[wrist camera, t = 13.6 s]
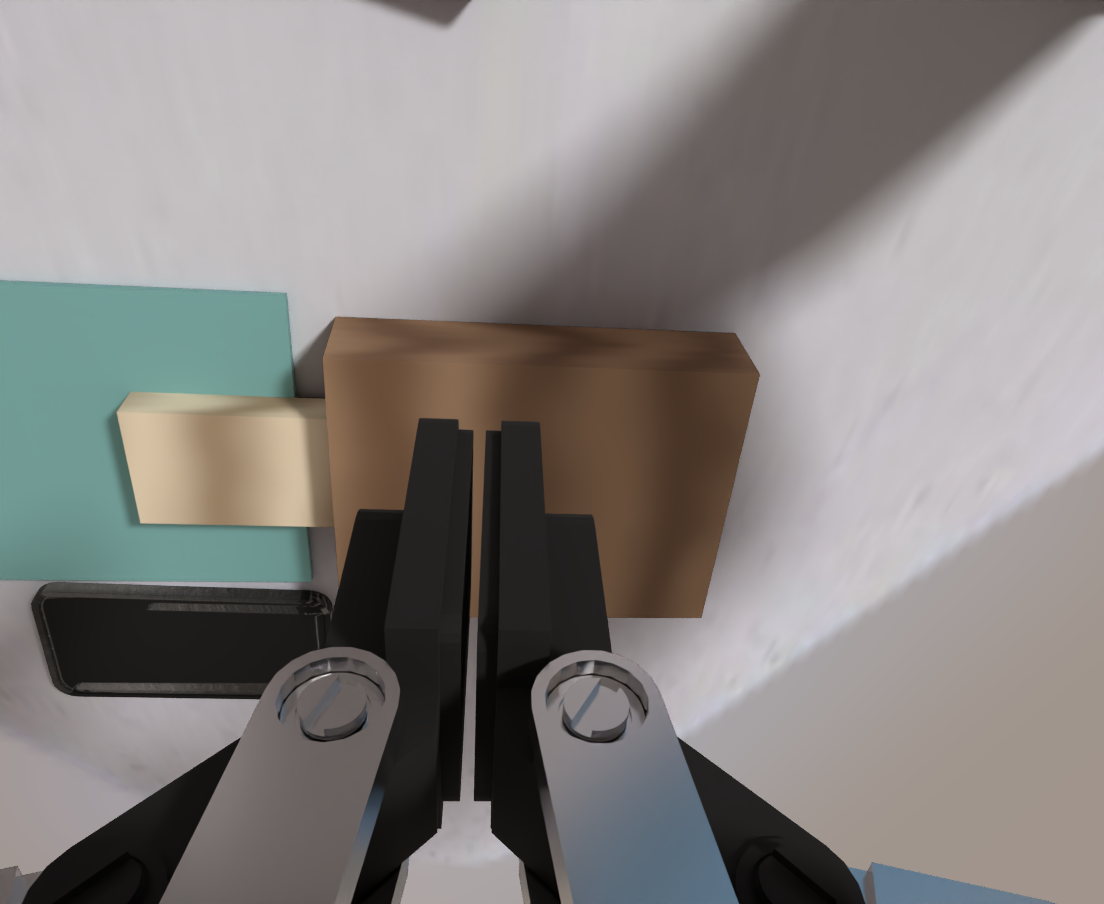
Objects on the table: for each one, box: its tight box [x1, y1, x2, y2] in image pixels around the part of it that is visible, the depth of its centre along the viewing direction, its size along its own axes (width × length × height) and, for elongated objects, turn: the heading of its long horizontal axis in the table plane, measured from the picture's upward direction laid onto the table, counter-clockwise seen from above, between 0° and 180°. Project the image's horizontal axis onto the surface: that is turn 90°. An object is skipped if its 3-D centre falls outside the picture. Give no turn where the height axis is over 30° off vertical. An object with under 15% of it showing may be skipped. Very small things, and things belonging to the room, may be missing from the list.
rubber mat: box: [0, 280, 313, 582], centre depth 40 cm, size 16×16×1 cm
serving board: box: [323, 317, 760, 618], centre depth 40 cm, size 18×14×4 cm
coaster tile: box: [117, 392, 334, 527], centre depth 39 cm, size 9×6×2 cm, turn 85°
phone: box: [31, 582, 333, 699], centre depth 47 cm, size 8×1×15 cm
